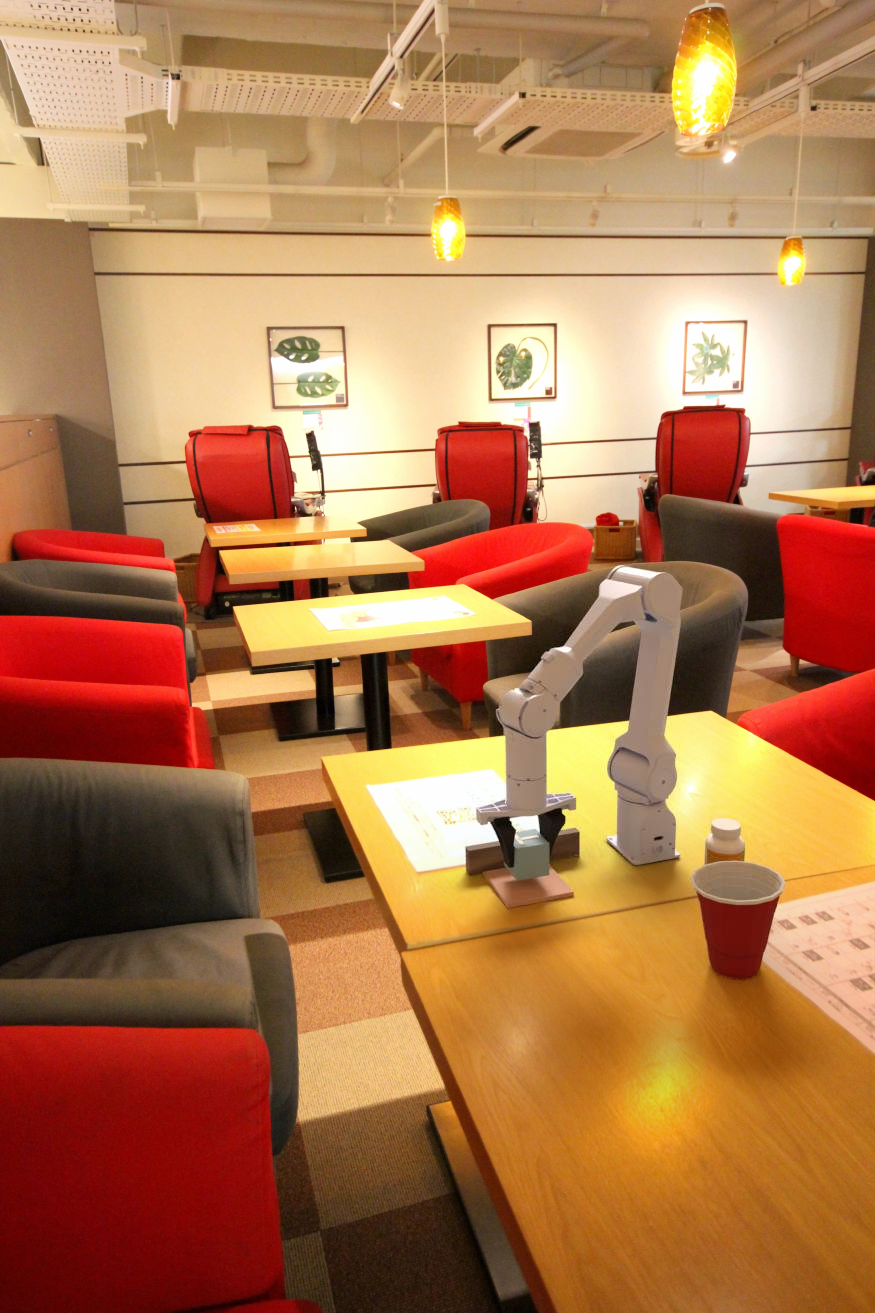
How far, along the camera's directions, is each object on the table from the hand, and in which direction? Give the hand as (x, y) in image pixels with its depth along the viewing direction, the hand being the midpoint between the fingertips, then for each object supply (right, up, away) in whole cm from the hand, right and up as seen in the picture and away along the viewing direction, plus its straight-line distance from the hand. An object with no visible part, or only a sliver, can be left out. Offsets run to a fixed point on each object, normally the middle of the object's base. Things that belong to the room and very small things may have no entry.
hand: (527, 861), depth 131 cm
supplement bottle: (+28, -3, -1) cm, 28 cm away
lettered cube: (0, -1, +1) cm, 2 cm away
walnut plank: (0, -2, +8) cm, 8 cm away
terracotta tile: (0, -4, +1) cm, 4 cm away
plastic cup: (+23, -9, -20) cm, 32 cm away
